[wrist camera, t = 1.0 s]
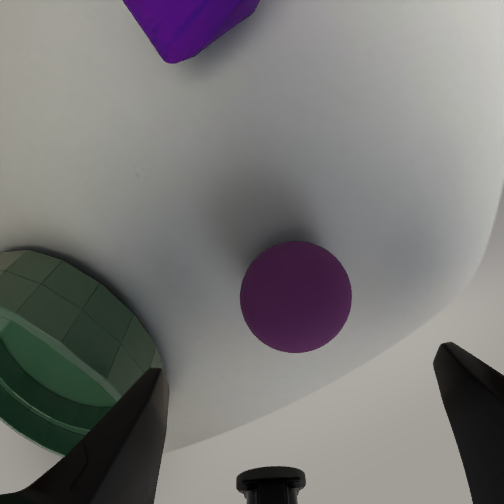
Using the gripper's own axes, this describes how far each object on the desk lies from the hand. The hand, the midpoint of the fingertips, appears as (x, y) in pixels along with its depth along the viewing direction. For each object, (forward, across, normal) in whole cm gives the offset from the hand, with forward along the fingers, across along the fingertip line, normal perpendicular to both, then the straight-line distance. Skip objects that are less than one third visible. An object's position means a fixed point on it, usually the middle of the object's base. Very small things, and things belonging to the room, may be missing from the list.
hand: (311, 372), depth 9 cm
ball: (+4, 0, 0) cm, 4 cm away
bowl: (+6, +14, +5) cm, 16 cm away
